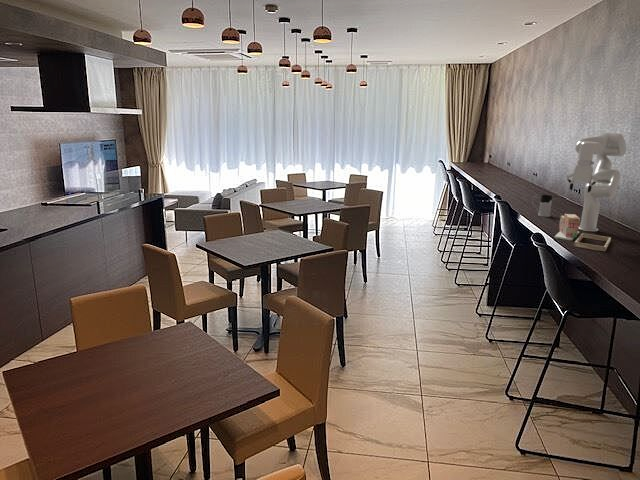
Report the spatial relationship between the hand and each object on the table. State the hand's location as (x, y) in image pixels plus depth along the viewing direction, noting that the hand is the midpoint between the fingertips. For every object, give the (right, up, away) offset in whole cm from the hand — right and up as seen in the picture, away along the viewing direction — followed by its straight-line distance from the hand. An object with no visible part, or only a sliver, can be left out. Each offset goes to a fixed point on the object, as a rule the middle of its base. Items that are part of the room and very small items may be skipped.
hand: (579, 191), depth 305 cm
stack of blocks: (-3, -26, +10) cm, 28 cm away
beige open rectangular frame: (+3, -32, -9) cm, 34 cm away
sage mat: (-3, -27, +10) cm, 29 cm away
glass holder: (+7, -11, +71) cm, 72 cm away
